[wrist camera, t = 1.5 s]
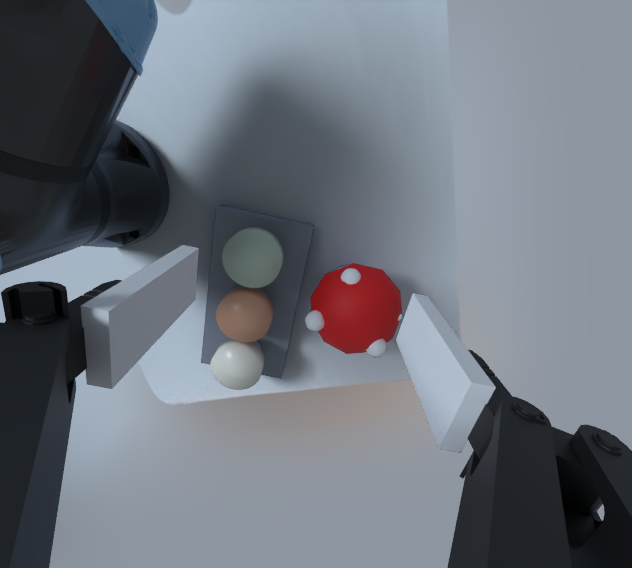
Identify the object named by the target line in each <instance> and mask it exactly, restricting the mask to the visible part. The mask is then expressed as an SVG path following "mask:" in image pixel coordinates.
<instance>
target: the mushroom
mask: <svg viewBox="0 0 632 568" xmlns="http://www.w3.org/2000/svg"><path fill="white" fill-rule="evenodd" d="M310 299H311V309H312V311H311V312H309V313H308V315H307V316H306V318H305V322H306V326H307V327H308V329H310V330H312V331H318V332H319V334H320V336H321V337H322V339H323V341H324V342H326V343H328V344H330V345H331V346H333V347H335V348H337V349H339V350H341V351H343V352H345V353H346V354H350V353H362V352H367V353H368V355H370V356H372V357H380V356H382V355H383V354H385V351H386V349H387V347H386V342H388V341H389V340H391V339H392V338H393V336H394V333H395V331H396V328H397V326H398V323H399V321H400V320H401V319H402V307H401V295H400V290H399V289H398V288H397V287H396V285H395V284H394V283H393V282H392V281H391V280H390V278H389V277H388V276H387V275H386V274H385V272H384V271H383V270H381V269H376V268H372V267H367V266H363V265H359V264H354V263H353V264H349V265H344V266H340V267H338V268H337V269H335V270H334V271H332V272H330V273H327V274H325V276H324V277H323V279H322V280H321V282H320V283H319V285H318V286H317V288H316V289H315V291H314V292H313V294H312V296H311V297H310Z"/></svg>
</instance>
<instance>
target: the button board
mask: <svg viewBox="0 0 632 568" xmlns="http://www.w3.org/2000/svg"><path fill="white" fill-rule="evenodd" d="M250 227H257V228H262V229H265V230H267V231H269V232H270V233H272V234H273V235H274V236H275V237H276V238H277V239H278V240H279V242H280V244H281V246H282V249H283V253H284V259H283V264H282V267H281V269H280V271H279V274H278V275H277V277H276V278H275V279H274V280H273V281H272V282H271V283H270V284H268V285H266V286H264V287H260V288H255V289H258V290H260V291H261V292H263V293H264V294H265V295H266V296H267V297H268V298H269V300H270V301H271V303H272V306H273V318H272V321H271V324H270V327H269V329H268V331H267V333H266V334H265V335H264V336H263V337H262V338H260V339H259V340H256V341H253V343H255V344H256V345H257V346H258V347H259V348H260V349H261V351H262V353H263V355H264V366H263V369H262V373H261V375H266V376H271V377H276V378H281V377H282V372H283V368H284V363H285V358H286V354H287V349H288V344H289V340H290V335H291V330H292V326H293V321H294V317H295V312H296V307H297V303H298V298H299V293H300V289H301V284H302V279H303V275H304V270H305V265H306V261H307V256H308V252H309V247H310V242H311V238H312V233H313V228H314V225H309V224H305V223H300V222H296V221H291V220H287V219H282V218H278V217H273V216H269V215H264V214H260V213H255V212H251V211H247V210H242V209H238V208H233V207H229V206H224V205H219V206H217V207H216V209H215V220H214V231H213V241H212V252H211V262H210V273H209V284H208V294H207V305H206V315H205V326H204V337H203V347H202V358H201V363H205V364H211V360H212V358H213V356H214V354H215V353H216V351H217V349H218V347H219V346H220V345H221V344H222V343H223V342H224V341H226V340H229V339H231V338H229V337H227V336H226V335H225V334H224V333H223V332H222V331H221V330H220V328H219V326H218V324H217V321H216V310H217V307H218V305H219V304H220V302H221V301H222V300H223V298H224V297H225V296H226V294H227V293H228V292H230V291H231V290H233V289H235V288H238V287H244V286H242V285H240V284H238V283H236V282H235V281H234V280H232V279H231V278H230V277H229V275H228V274H227V272H226V271H225V269H224V266H223V262H222V253H223V249H224V246H225V244H226V243H227V241H228V240H229V239H230V238H231V237H233V236H234V235H235V234H236V233H238V232H239V231H241V230H243V229H245V228H250Z"/></svg>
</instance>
